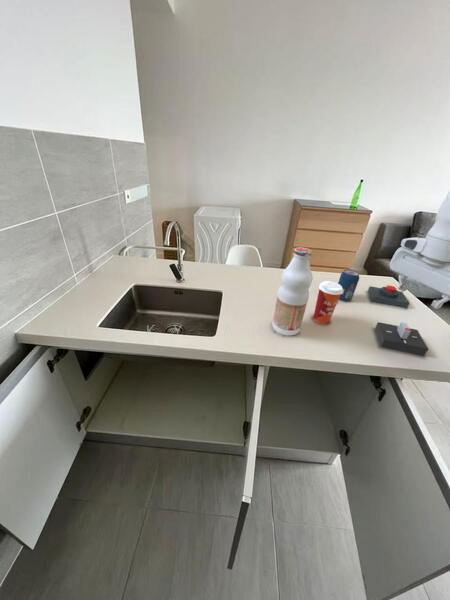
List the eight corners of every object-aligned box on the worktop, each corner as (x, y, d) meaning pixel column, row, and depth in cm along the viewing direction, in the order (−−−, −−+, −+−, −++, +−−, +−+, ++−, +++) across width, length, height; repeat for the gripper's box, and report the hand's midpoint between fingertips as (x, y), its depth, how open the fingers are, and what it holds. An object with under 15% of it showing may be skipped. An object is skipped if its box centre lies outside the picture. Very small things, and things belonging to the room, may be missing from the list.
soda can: (339, 292, 107) (348, 267, 101) (354, 299, 103) (364, 273, 96) (330, 296, 104) (338, 270, 97) (345, 304, 99) (355, 277, 93)
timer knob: (396, 329, 80) (401, 321, 79) (402, 330, 80) (406, 322, 78) (400, 338, 77) (405, 329, 75) (406, 339, 76) (411, 330, 75)
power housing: (399, 296, 106) (404, 287, 104) (406, 308, 98) (411, 299, 96) (367, 291, 109) (371, 282, 107) (371, 302, 101) (375, 292, 99)
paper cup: (320, 327, 85) (331, 292, 77) (306, 315, 90) (315, 282, 83) (337, 322, 87) (349, 288, 80) (322, 311, 93) (332, 279, 86)
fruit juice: (273, 335, 80) (289, 254, 65) (270, 318, 88) (284, 243, 73) (302, 337, 79) (324, 256, 65) (296, 320, 87) (315, 245, 73)
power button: (393, 289, 103) (395, 286, 102) (395, 293, 100) (397, 290, 99) (384, 288, 104) (385, 284, 103) (386, 292, 101) (387, 288, 100)
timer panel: (413, 336, 83) (417, 329, 81) (424, 356, 74) (429, 348, 73) (374, 328, 85) (378, 321, 84) (380, 347, 77) (384, 339, 76)
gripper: (504, 264, 52) (468, 317, 59) (413, 236, 68) (393, 280, 75) (486, 267, 50) (451, 321, 57) (396, 237, 66) (377, 282, 73)
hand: (417, 298), depth 66 cm, fingers open, 8 cm apart
